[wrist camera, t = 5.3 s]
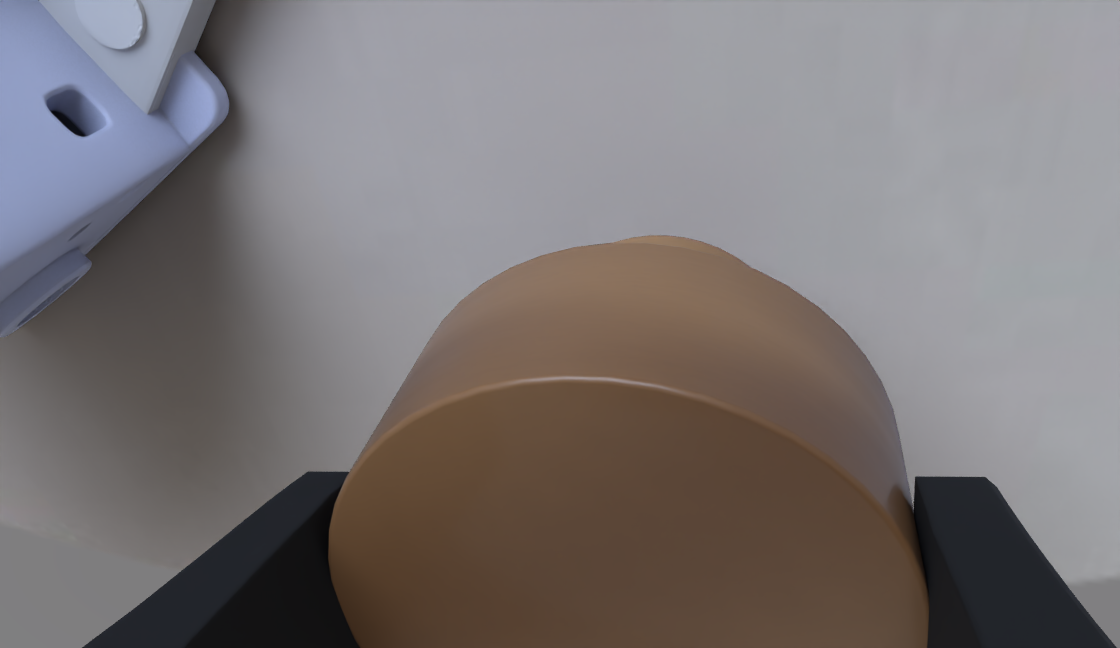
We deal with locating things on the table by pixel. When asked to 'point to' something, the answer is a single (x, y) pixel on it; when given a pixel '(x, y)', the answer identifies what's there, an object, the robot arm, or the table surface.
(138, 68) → the smartphone
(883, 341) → the table surface
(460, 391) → the stopper
